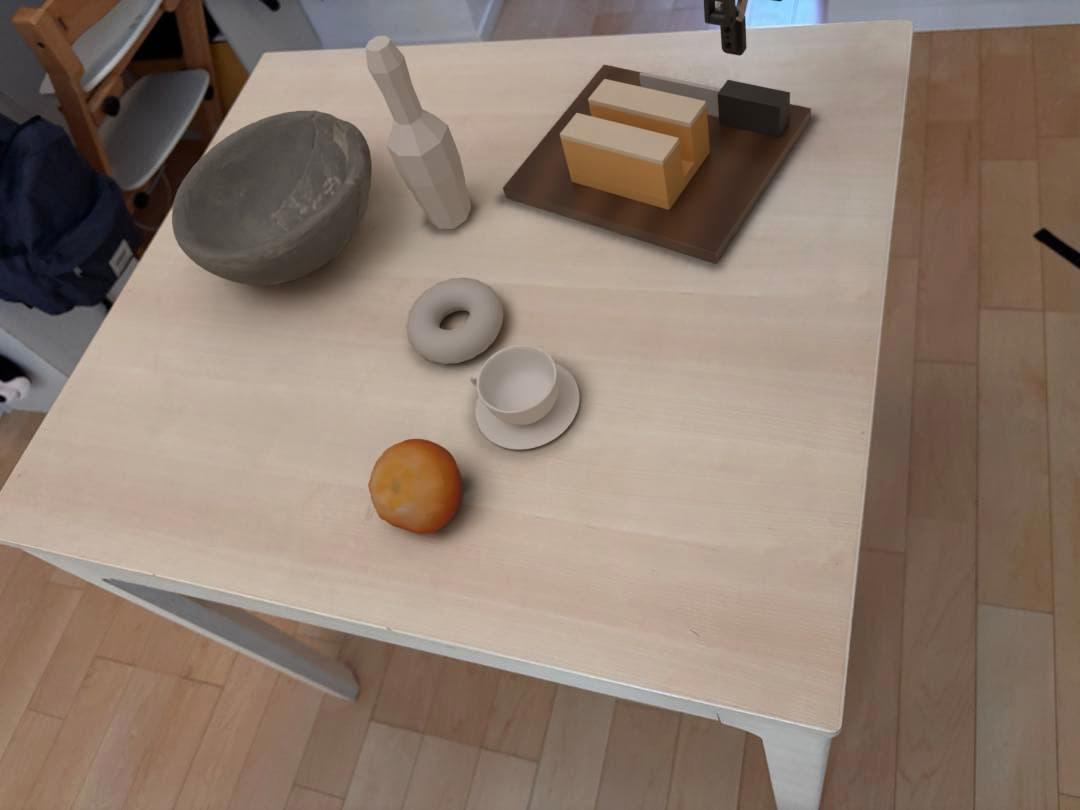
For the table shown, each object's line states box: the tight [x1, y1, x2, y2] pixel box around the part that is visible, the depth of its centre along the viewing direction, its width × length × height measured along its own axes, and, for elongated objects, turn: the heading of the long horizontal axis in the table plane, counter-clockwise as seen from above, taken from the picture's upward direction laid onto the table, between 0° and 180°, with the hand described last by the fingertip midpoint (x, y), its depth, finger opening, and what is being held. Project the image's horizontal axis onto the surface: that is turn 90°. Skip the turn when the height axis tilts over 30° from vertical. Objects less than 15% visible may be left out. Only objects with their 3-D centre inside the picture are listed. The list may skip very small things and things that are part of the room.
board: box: [502, 64, 812, 264], centre depth 94 cm, size 26×22×2 cm
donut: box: [405, 277, 504, 365], centre depth 87 cm, size 10×4×10 cm
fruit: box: [367, 438, 464, 535], centre depth 75 cm, size 8×8×8 cm
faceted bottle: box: [365, 35, 472, 230], centre depth 89 cm, size 6×6×22 cm
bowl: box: [171, 110, 373, 286], centre depth 97 cm, size 23×22×10 cm
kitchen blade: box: [639, 71, 791, 138], centre depth 93 cm, size 17×2×4 cm, turn 57°
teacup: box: [469, 343, 580, 450], centre depth 79 cm, size 10×10×5 cm
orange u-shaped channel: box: [560, 79, 710, 210], centre depth 90 cm, size 12×9×7 cm
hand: (754, 24), depth 83 cm, fingers open, 8 cm apart
